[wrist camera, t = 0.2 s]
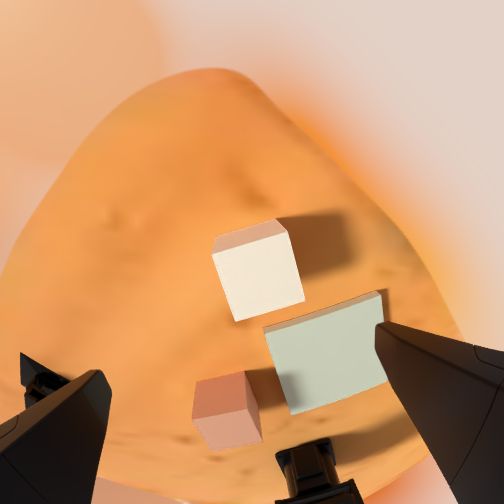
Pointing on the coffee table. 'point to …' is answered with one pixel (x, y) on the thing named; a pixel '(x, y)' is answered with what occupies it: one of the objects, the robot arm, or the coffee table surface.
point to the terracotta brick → (226, 412)
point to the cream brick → (257, 269)
